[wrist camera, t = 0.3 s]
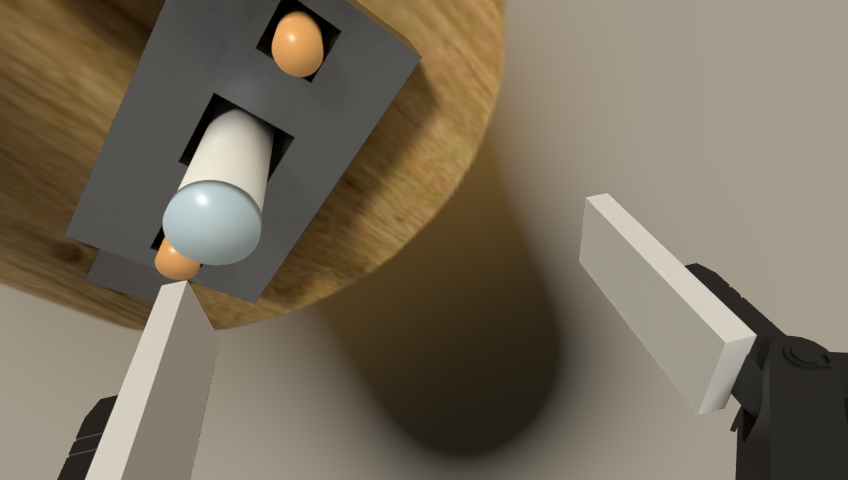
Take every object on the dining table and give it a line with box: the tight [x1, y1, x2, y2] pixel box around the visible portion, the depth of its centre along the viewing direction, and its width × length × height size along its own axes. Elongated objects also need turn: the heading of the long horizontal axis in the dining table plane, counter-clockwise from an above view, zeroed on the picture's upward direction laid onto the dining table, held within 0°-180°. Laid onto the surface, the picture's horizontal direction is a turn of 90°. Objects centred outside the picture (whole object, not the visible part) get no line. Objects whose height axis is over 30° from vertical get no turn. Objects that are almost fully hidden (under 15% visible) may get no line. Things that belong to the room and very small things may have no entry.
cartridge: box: [163, 99, 275, 265], centre depth 30 cm, size 5×5×15 cm
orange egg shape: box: [272, 7, 323, 77], centre depth 29 cm, size 3×3×6 cm
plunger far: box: [155, 236, 201, 280], centre depth 35 cm, size 3×3×6 cm
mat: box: [85, 249, 187, 303], centre depth 41 cm, size 7×7×1 cm
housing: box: [64, 0, 422, 304], centre depth 34 cm, size 14×24×5 cm, turn 144°
